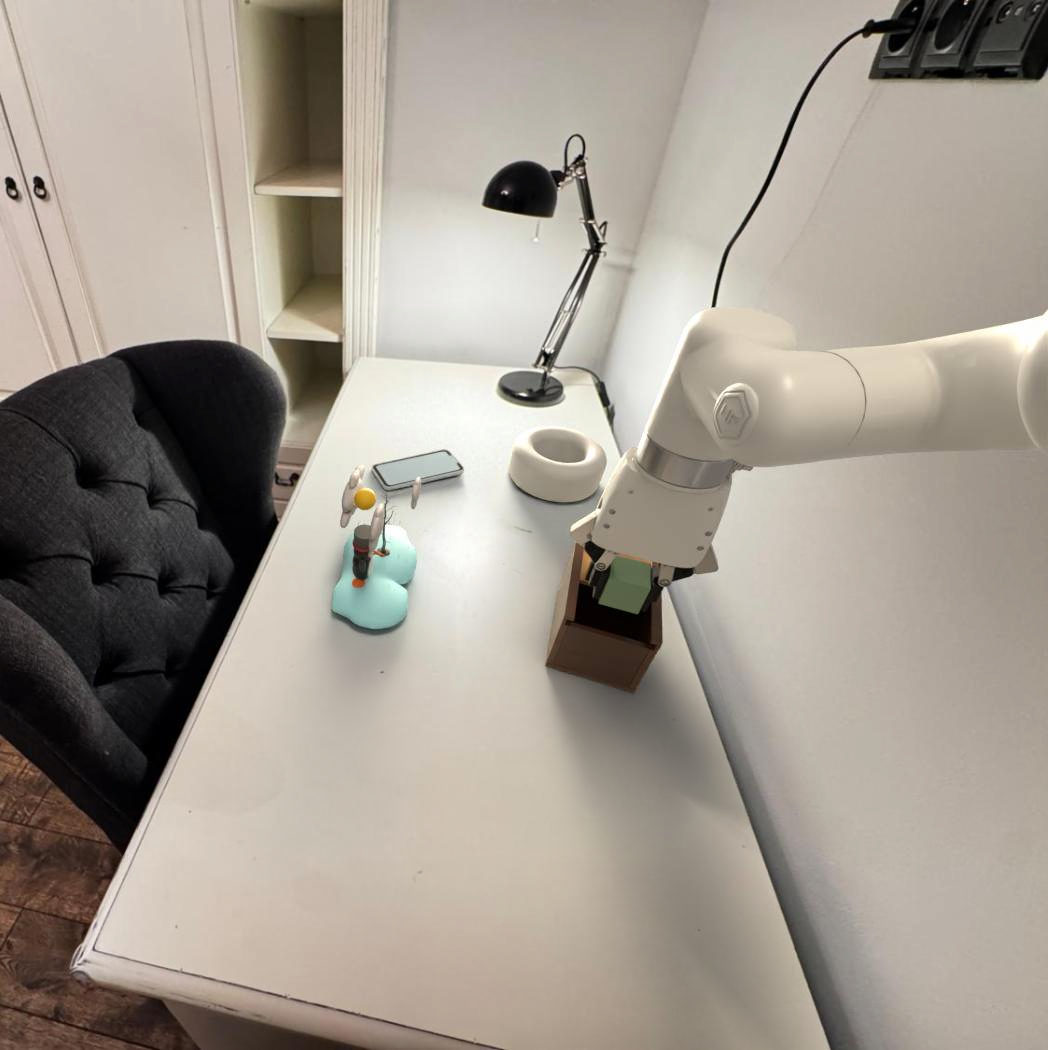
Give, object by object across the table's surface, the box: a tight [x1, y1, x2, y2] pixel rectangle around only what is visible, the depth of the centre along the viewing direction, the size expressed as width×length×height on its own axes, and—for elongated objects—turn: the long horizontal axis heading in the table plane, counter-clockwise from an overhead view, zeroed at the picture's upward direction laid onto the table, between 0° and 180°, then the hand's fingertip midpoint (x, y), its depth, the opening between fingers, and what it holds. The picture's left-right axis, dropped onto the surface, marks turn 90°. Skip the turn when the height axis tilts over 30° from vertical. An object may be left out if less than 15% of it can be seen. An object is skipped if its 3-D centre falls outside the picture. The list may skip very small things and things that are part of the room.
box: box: [544, 541, 664, 694], centre depth 69 cm, size 13×10×9 cm
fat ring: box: [508, 425, 608, 503], centre depth 96 cm, size 15×15×7 cm
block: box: [599, 555, 651, 614], centre depth 61 cm, size 4×4×4 cm
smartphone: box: [371, 448, 465, 491], centre depth 99 cm, size 7×1×15 cm
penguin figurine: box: [330, 463, 422, 630], centre depth 75 cm, size 20×11×15 cm, turn 167°
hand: (619, 594), depth 62 cm, fingers closed on block, 4 cm apart
